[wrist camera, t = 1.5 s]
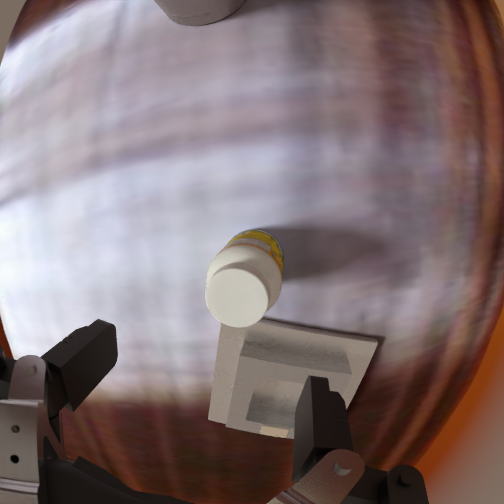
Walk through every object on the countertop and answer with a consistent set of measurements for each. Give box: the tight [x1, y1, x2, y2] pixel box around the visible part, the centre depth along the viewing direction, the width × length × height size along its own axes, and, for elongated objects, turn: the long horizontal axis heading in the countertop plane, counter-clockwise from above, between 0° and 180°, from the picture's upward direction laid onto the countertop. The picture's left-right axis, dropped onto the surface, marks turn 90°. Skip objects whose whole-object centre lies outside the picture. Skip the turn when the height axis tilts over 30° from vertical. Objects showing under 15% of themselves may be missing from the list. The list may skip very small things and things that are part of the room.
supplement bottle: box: [205, 230, 284, 327], centre depth 22 cm, size 5×5×10 cm
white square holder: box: [208, 318, 378, 439], centre depth 28 cm, size 16×16×4 cm
